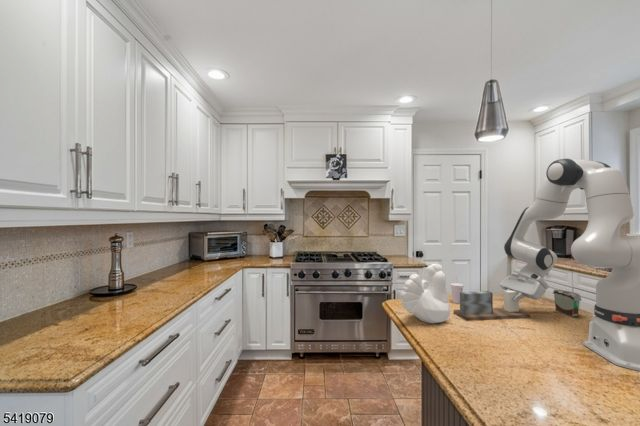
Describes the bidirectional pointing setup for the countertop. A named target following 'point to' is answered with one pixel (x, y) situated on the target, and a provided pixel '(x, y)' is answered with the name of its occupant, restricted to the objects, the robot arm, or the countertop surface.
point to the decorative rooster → (427, 295)
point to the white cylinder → (511, 301)
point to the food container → (567, 302)
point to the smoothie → (456, 291)
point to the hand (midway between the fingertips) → (510, 299)
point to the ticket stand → (483, 308)
